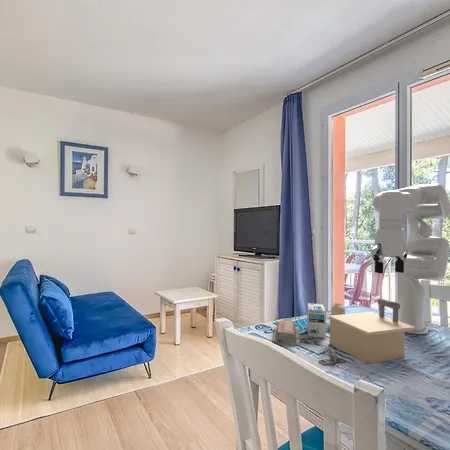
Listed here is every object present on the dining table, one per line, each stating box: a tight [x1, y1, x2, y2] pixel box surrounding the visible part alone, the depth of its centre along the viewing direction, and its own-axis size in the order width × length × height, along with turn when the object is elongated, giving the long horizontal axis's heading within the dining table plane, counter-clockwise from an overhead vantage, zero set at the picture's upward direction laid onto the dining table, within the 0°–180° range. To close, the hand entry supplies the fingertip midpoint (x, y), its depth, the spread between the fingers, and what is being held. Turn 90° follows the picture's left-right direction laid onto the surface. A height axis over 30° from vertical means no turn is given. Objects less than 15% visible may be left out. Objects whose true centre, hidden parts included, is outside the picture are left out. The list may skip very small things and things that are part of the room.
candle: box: [330, 302, 346, 316], centre depth 137 cm, size 6×6×10 cm
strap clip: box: [318, 348, 347, 366], centre depth 101 cm, size 8×3×4 cm, turn 108°
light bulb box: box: [306, 302, 327, 339], centre depth 128 cm, size 11×7×11 cm, turn 168°
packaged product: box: [272, 319, 301, 346], centre depth 124 cm, size 18×5×10 cm
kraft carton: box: [329, 319, 406, 365], centre depth 111 cm, size 16×18×9 cm
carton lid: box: [328, 297, 415, 336], centre depth 112 cm, size 20×19×8 cm
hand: (389, 272), depth 115 cm, fingers open, 9 cm apart
